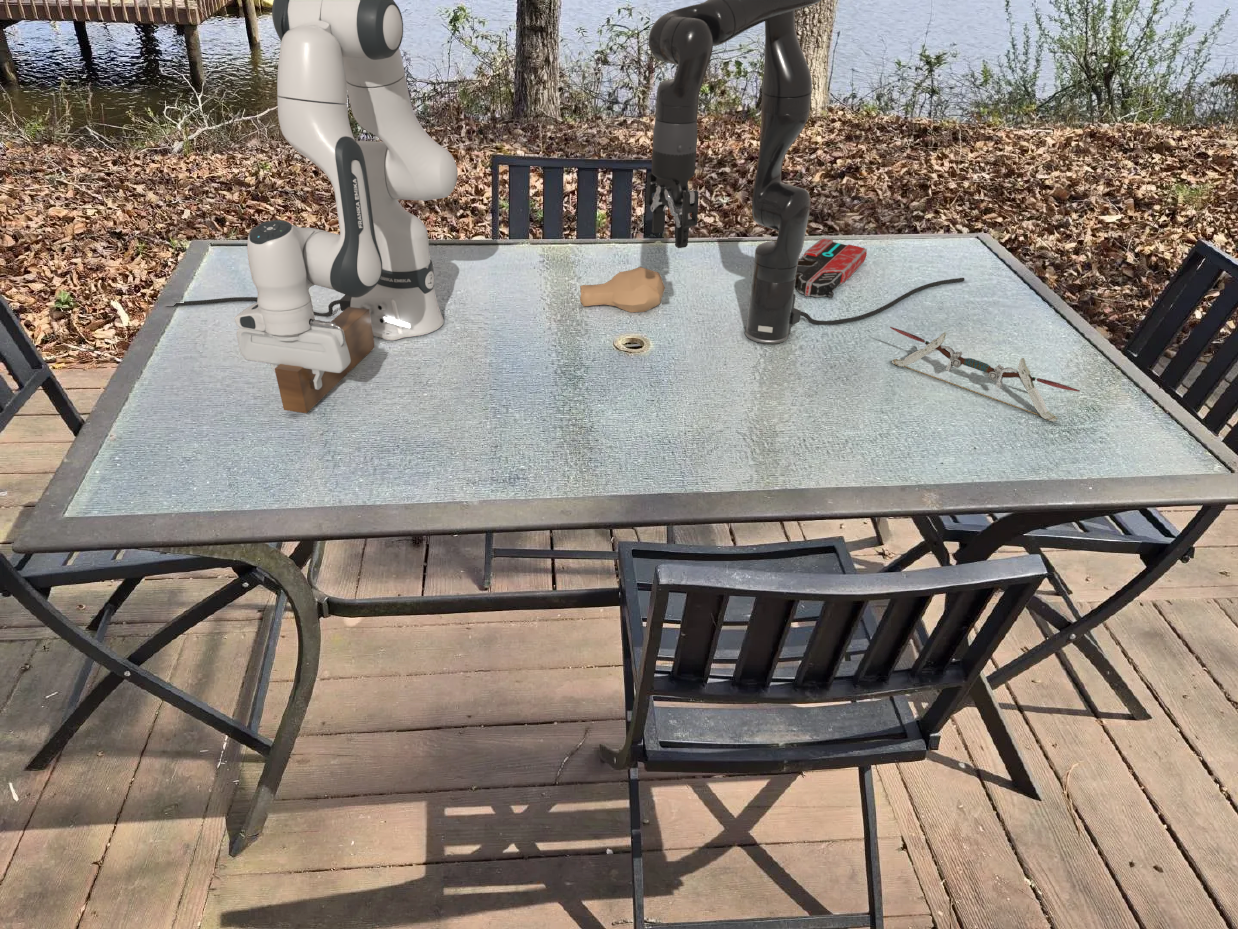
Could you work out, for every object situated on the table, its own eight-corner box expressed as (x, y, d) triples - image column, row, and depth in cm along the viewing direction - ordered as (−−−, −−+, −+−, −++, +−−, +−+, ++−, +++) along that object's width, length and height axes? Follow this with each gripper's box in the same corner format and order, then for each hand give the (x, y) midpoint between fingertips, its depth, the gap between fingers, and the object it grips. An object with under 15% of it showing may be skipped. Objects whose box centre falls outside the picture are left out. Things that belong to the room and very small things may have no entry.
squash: (667, 316, 202) (664, 283, 196) (581, 324, 204) (575, 291, 198) (665, 291, 210) (662, 258, 204) (583, 298, 212) (577, 266, 205)
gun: (756, 267, 217) (831, 286, 209) (802, 230, 239) (871, 246, 231) (754, 284, 219) (828, 303, 212) (800, 246, 241) (868, 263, 233)
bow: (1069, 424, 166) (1086, 377, 160) (1066, 427, 164) (1083, 380, 159) (885, 357, 187) (894, 314, 181) (880, 360, 186) (890, 317, 180)
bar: (306, 413, 160) (297, 371, 156) (283, 410, 161) (274, 368, 156) (375, 347, 183) (369, 309, 178) (354, 344, 184) (348, 306, 179)
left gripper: (350, 316, 155) (361, 385, 162) (246, 303, 158) (261, 371, 166) (333, 330, 150) (345, 401, 157) (225, 317, 153) (242, 386, 161)
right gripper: (715, 155, 145) (707, 249, 154) (673, 135, 156) (667, 224, 165) (676, 159, 143) (670, 255, 152) (635, 139, 153) (632, 230, 162)
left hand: (301, 385), depth 162 cm, fingers closed on bar, 5 cm apart
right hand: (669, 239), depth 158 cm, fingers open, 8 cm apart
